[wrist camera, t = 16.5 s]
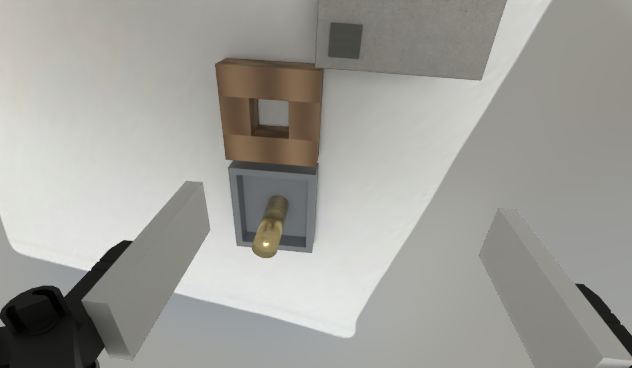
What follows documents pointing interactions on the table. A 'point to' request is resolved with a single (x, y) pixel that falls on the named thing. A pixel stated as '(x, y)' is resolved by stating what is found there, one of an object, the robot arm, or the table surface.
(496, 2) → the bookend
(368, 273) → the table surface
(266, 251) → the lock pin
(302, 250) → the tray
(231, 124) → the block
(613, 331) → the robot arm
